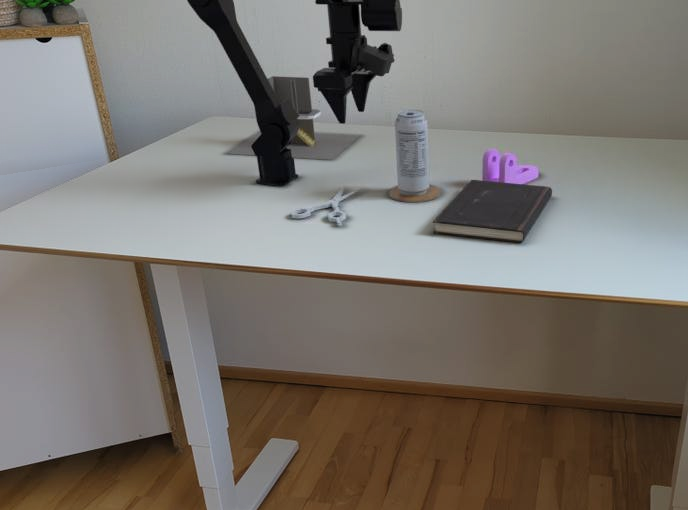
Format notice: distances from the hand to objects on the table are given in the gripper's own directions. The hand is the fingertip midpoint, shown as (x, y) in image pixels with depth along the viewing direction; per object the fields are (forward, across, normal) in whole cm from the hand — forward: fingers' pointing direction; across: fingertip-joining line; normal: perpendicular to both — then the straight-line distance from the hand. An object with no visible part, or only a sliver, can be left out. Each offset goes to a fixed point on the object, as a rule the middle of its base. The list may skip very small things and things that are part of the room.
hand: (352, 117), depth 153 cm
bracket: (+13, +10, -30) cm, 34 cm away
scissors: (+13, -13, -1) cm, 18 cm away
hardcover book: (+13, -10, -31) cm, 35 cm away
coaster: (+13, -3, -13) cm, 19 cm away
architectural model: (+13, +22, +25) cm, 35 cm away
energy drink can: (+13, -3, -13) cm, 19 cm away
